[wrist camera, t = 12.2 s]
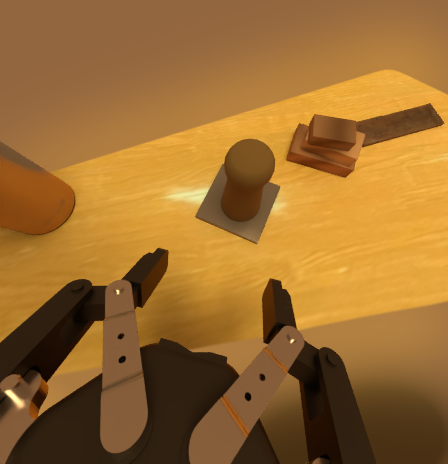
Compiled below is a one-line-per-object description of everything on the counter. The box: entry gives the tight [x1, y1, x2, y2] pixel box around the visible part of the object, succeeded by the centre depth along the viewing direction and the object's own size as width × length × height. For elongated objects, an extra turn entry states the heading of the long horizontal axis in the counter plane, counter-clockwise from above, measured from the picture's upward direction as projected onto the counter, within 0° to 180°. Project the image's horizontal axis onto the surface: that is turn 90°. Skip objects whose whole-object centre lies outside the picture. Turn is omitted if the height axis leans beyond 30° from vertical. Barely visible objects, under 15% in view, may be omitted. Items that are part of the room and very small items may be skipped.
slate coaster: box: [196, 164, 280, 244], centre depth 28 cm, size 10×10×1 cm
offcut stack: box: [287, 114, 365, 177], centre depth 28 cm, size 10×6×5 cm, turn 71°
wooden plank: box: [356, 104, 444, 147], centre depth 33 cm, size 17×1×5 cm
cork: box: [221, 139, 275, 222], centre depth 22 cm, size 6×6×11 cm
